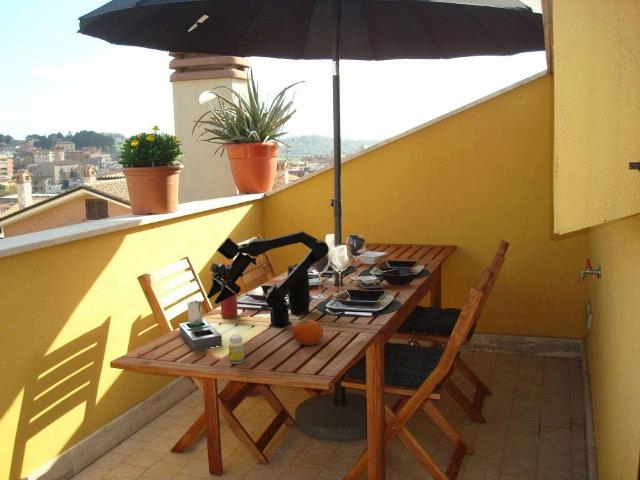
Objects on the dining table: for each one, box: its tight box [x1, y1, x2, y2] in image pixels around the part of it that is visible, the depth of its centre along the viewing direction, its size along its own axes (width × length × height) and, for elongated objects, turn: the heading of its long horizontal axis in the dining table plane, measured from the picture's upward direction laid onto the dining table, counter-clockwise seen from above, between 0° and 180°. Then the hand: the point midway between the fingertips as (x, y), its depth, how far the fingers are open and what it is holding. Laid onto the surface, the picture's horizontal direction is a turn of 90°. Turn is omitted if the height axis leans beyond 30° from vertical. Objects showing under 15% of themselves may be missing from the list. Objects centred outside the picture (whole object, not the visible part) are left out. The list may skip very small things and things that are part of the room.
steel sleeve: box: [187, 299, 204, 328], centre depth 232 cm, size 5×5×13 cm
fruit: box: [292, 319, 324, 346], centre depth 219 cm, size 11×10×8 cm
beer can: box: [219, 291, 239, 319], centre depth 256 cm, size 7×7×12 cm
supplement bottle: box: [228, 334, 245, 364], centre depth 205 cm, size 5×5×8 cm
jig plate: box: [178, 319, 223, 351], centre depth 228 cm, size 22×10×4 cm, turn 25°
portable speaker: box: [287, 263, 311, 316], centre depth 257 cm, size 9×9×20 cm
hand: (211, 300), depth 234 cm, fingers open, 9 cm apart
